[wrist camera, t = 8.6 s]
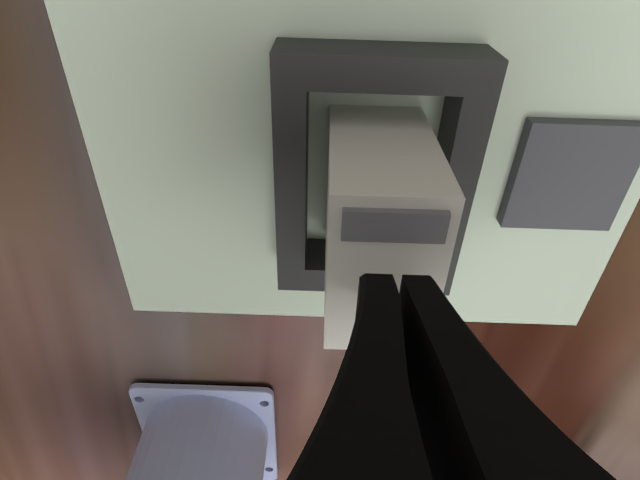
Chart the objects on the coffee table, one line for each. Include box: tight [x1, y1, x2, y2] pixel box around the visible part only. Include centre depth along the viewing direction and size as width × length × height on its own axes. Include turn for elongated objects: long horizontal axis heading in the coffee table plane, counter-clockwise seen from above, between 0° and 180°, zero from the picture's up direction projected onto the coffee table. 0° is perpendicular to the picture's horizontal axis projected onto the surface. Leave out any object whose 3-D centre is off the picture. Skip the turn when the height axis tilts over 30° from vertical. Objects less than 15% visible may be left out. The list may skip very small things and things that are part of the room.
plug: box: [324, 105, 466, 350], centre depth 14 cm, size 5×3×6 cm, turn 179°
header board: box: [44, 0, 640, 325], centre depth 16 cm, size 15×20×3 cm
